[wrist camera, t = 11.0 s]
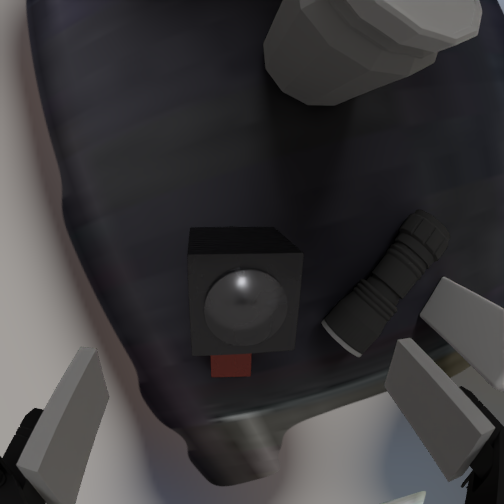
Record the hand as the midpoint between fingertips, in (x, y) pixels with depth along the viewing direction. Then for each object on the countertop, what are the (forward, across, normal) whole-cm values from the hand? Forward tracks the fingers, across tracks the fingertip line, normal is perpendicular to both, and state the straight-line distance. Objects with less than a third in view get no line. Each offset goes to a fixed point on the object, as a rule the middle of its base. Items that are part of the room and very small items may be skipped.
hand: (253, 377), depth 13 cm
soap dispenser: (+18, +26, -6) cm, 32 cm away
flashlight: (+18, +15, -2) cm, 24 cm away
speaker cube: (+16, 0, 0) cm, 16 cm away
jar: (+18, +7, +19) cm, 27 cm away
